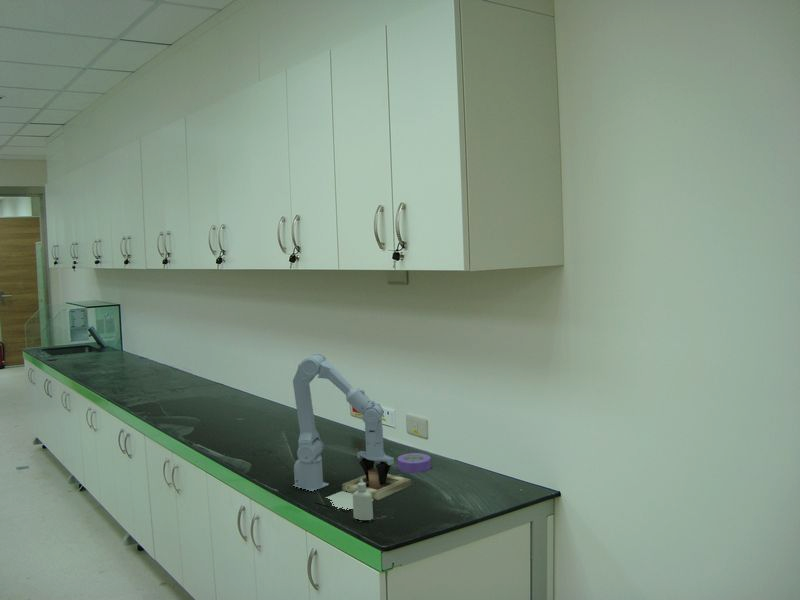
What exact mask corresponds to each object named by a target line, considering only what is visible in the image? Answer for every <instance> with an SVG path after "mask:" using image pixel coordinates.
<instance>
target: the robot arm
mask: <svg viewBox="0 0 800 600" xmlns="http://www.w3.org/2000/svg"><path fill="white" fill-rule="evenodd" d="M317 375H318V376H317ZM316 376H317V378H318V379H324V380H325V379H326V380H328V381H330V382H331V384H333V385H334V386H335V387H337V388H338V390H340V391H341V392H342V393H343V394H344V395H345V398H346V399H345V400H346V402H347V403H349V405H350V406H351V407H353V409H354V410H355V411H356V412H357V413H358V414H360V415H361V418H362V421H363V422H364V427H365V428H364V434H365V436H364V437H365V451H363V450H360V451H357V453H356V454H357V455H356V457H357V459H361V460H360V461H359V465H360V466H361V468H362V470H363V472H364V475H366V478H367V482H369V476H368V469H370V468H375V467H376V468H377V470H378V474H379V483H380V485H384V486H385V485H386V484H387V483H386V479H387V474H389V471H390V468H391V467H392V465H394V464H395V461H394V460H395V459H394V457H392V456H390V455H387V454H386V452H385V451H384V450H385V449H384V433H383V432H384V431H383V430H384V428H383V421H382V418H383V416H384V409H383V407H382V406H381V404H379V403H376V402H375V400H372V399H371V398H370V397H369V396H367V394H366V393H365V392H366V391H365V390H364V389H363V388H362V389H361V388H359V387H354V386H352V385H351V384H350V383H349V381H348V380H347V379H346V378H345V377H344V376H343V375H342V374H341V372H339V370H338V369H337V368H336V367H335V366H334V365H333V363H332V362H331V361H330V360H329V359H326V357H325V355H323V354H321V353H313V354H312V355H310V356H309V357H307V358H304V359H303V360H302V361H301V362H300V363H299V364H298V366H297V370H296V372H295V375H294V377H293V379H292V385H293V391H294V392H293V393H294V399H295V405H296V413H297V420H298V421H297V422H298V427H299V437H298V448H297V452H296V455H297V458H298V459H297V460H296V461H295V463H294V465H293V474H294V475H293V476H294V484H293V485H292V487H293V486H295V487H294V488H296V487H298V488H297V489H300V488H302V489H301V490H303V489H306V490H305V491H307V490H309V491H308V492H310V491H312V492H315V491H317V489H318V490H320V489H323V488H325V487H328V486H330V483H328V482H325V481H324V477H323V476H324V475H323V474H324V473H323V460H322V459H323V457H322V455H321V453H322V452H324V451H323V450H324V443H323V441H322V439H321V438H320V433H319V432H318V430H317V429H316V421H315V414H314V409H313V402H312V401H313V400H312V394H311V386H310V384H311V382H312V381H313V380H314V379H315V378H316ZM375 462H377V464H375ZM374 465H375V467H374ZM314 490H315V491H314Z"/></svg>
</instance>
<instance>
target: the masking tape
mask: <svg viewBox="0 0 800 600" xmlns="http://www.w3.org/2000/svg"><path fill="white" fill-rule="evenodd" d="M431 464H432V462H431V456H430V455H428V454H426V453H420V452H413V453H405V454H401V455H400V456H398V457H397V469H399V470H400V471H399V470H398V471H399V472H401V471H403V472H402V473H405V472H409V473H408V474H416V473H415V472H420V473H424V472H427V471H429V470H430V469H431V468H432V465H431ZM428 469H429V470H428ZM426 470H427V471H426ZM423 471H424V472H423Z"/></svg>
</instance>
